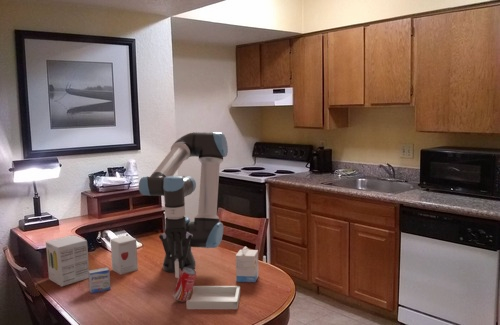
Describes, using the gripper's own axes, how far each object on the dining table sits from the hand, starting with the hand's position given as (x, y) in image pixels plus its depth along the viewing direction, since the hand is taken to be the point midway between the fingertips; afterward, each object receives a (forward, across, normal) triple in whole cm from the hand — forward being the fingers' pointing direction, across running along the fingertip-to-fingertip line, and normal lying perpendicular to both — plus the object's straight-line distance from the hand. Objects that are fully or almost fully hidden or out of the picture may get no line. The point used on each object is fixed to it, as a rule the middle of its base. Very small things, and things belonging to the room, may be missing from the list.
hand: (178, 276), depth 168 cm
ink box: (+10, +25, +22) cm, 35 cm away
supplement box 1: (+10, -55, +21) cm, 60 cm away
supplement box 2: (+10, -33, +32) cm, 47 cm away
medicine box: (+10, -36, +10) cm, 38 cm away
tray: (+10, +14, 0) cm, 17 cm away
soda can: (+9, 0, 0) cm, 9 cm away
